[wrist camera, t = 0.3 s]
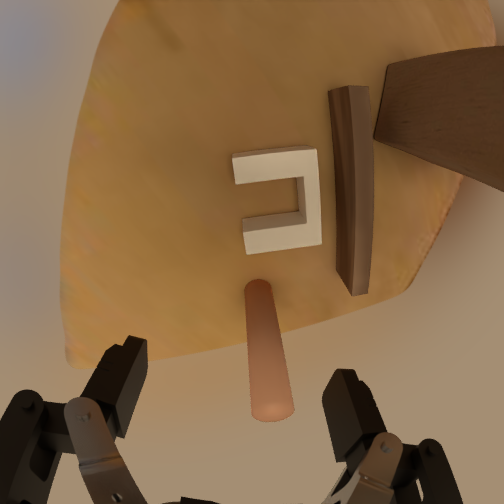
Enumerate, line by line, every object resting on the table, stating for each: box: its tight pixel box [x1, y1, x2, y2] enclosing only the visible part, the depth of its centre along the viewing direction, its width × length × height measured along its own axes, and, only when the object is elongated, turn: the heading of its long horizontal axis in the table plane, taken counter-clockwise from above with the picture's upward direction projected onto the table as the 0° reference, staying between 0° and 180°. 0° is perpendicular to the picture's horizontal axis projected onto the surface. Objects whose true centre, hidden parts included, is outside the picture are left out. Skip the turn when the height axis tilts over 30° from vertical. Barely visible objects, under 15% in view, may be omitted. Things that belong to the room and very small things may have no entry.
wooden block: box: [374, 46, 504, 192], centre depth 18 cm, size 10×10×20 cm
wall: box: [328, 85, 374, 296], centre depth 28 cm, size 2×22×6 cm, turn 7°
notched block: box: [232, 145, 322, 255], centre depth 29 cm, size 8×10×4 cm
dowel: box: [245, 279, 294, 422], centre depth 28 cm, size 4×4×18 cm
